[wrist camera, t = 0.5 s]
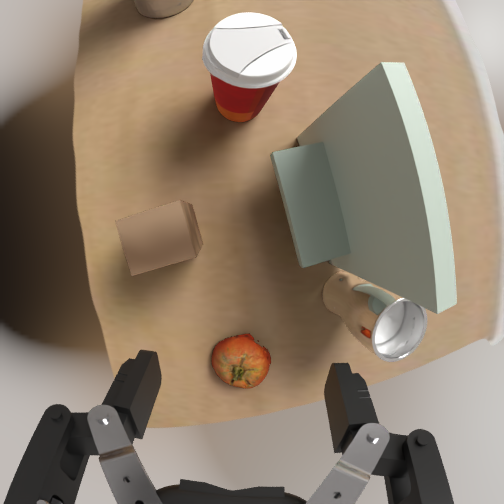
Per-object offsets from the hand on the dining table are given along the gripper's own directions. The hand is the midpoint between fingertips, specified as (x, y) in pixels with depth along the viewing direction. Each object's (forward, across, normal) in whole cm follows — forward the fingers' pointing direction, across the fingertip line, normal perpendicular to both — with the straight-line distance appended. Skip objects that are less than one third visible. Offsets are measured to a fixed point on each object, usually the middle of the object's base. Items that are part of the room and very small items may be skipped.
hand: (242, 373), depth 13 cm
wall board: (+28, -7, -2) cm, 29 cm away
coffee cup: (+30, +3, -14) cm, 33 cm away
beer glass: (+26, -12, +10) cm, 30 cm away
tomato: (+21, +1, +18) cm, 28 cm away
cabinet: (+24, +10, +2) cm, 26 cm away
